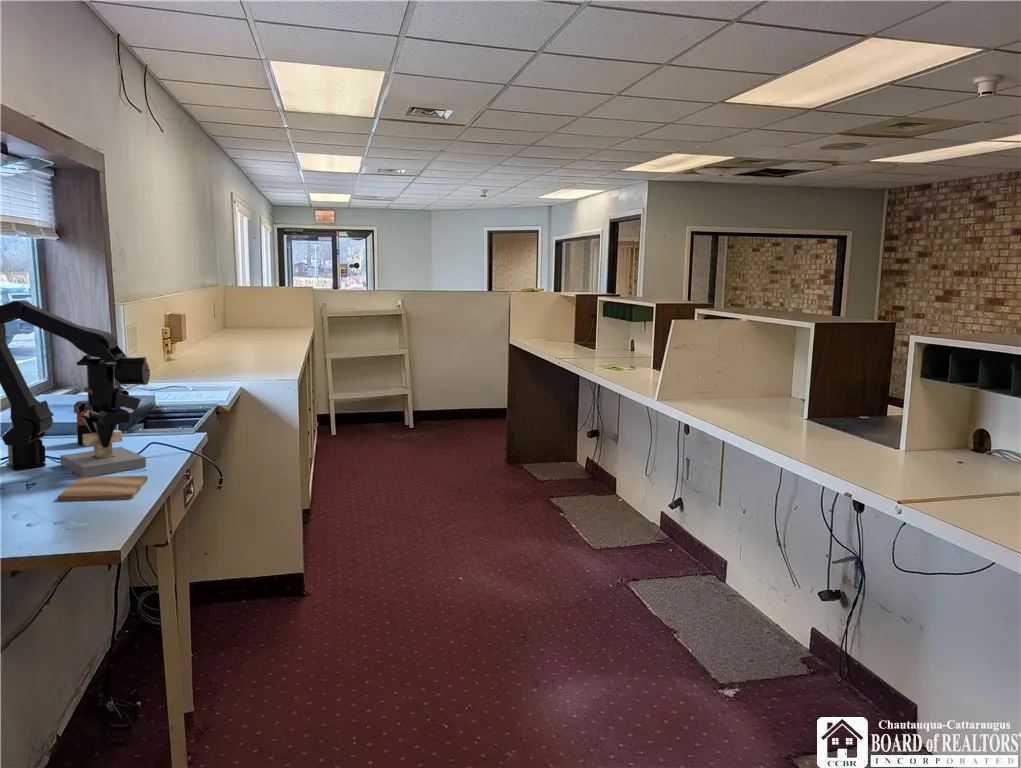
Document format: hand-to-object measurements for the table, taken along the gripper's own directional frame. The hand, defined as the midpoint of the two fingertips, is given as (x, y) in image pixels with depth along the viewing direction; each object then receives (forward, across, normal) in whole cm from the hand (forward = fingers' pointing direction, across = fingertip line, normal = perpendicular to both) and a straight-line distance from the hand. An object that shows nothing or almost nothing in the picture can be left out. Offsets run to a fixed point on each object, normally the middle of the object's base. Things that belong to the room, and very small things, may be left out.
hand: (102, 445), depth 166 cm
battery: (+6, +25, -7) cm, 27 cm away
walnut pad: (+5, -19, +7) cm, 21 cm away
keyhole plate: (+5, 0, 0) cm, 5 cm away
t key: (+5, 0, 0) cm, 5 cm away
